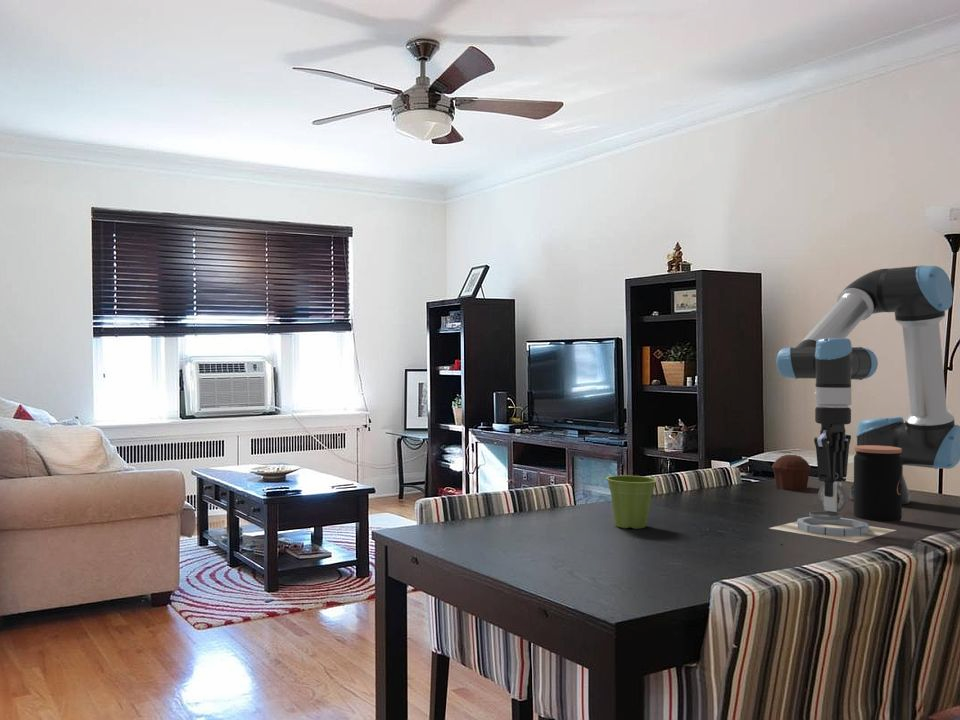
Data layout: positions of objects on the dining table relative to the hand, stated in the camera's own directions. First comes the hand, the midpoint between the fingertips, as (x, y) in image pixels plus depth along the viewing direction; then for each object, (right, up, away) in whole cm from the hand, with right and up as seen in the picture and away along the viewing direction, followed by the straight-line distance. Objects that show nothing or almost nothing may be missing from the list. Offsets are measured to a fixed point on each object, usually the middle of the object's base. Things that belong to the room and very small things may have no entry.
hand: (832, 510), depth 195 cm
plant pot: (-44, -5, +8) cm, 45 cm away
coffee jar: (+17, -6, +15) cm, 24 cm away
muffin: (+15, -5, +68) cm, 70 cm away
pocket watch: (-2, -2, -2) cm, 3 cm away
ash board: (0, -5, 0) cm, 5 cm away
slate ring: (0, -4, 0) cm, 4 cm away
